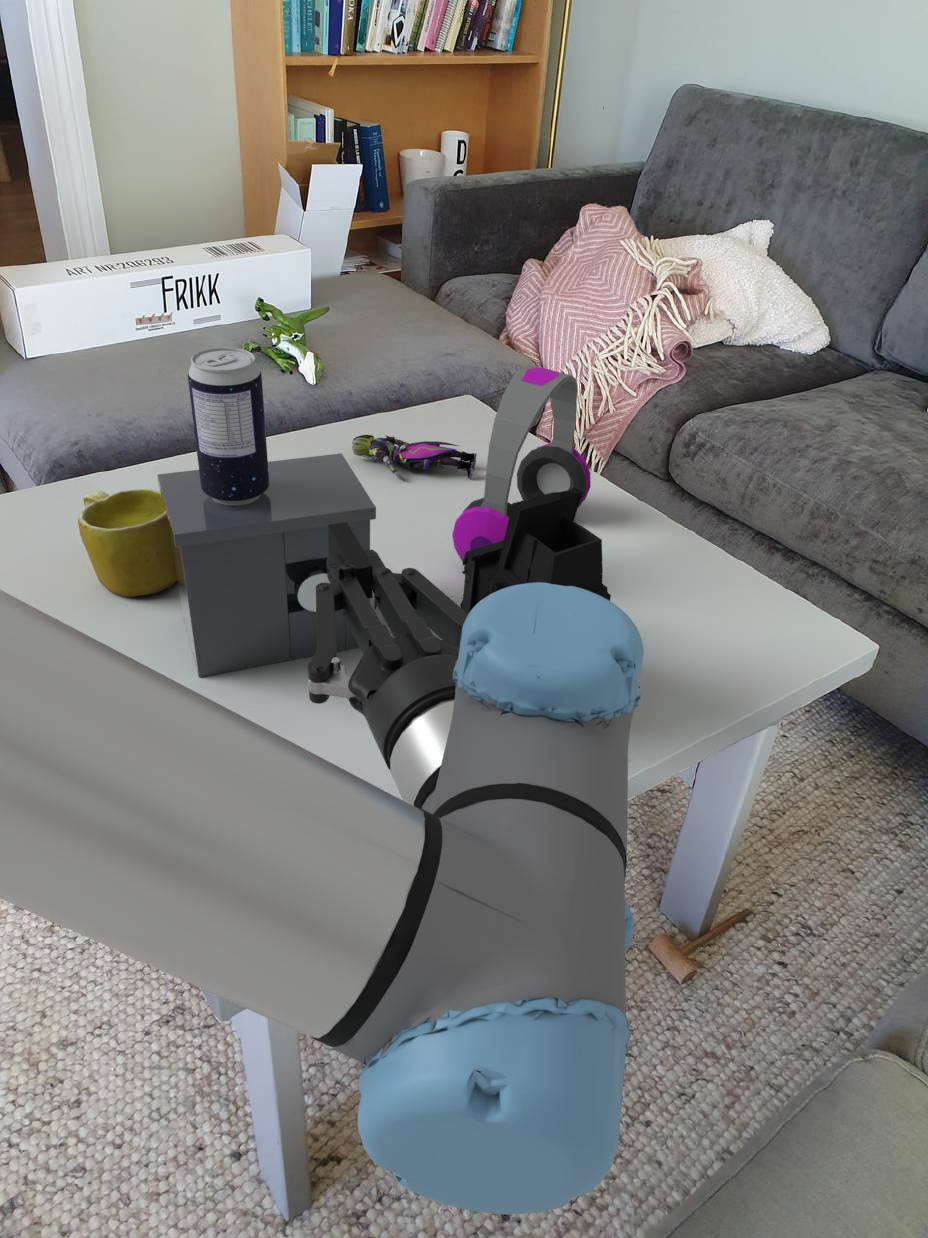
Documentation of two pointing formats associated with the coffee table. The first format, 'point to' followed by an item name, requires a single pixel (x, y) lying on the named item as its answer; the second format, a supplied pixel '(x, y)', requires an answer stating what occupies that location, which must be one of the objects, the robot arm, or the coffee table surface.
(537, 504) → the camera
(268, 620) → the cabinet
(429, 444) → the character figure
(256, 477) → the beverage can
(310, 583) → the flush button
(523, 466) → the headphones
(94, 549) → the mug
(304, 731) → the coffee table surface
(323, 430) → the coffee table surface
